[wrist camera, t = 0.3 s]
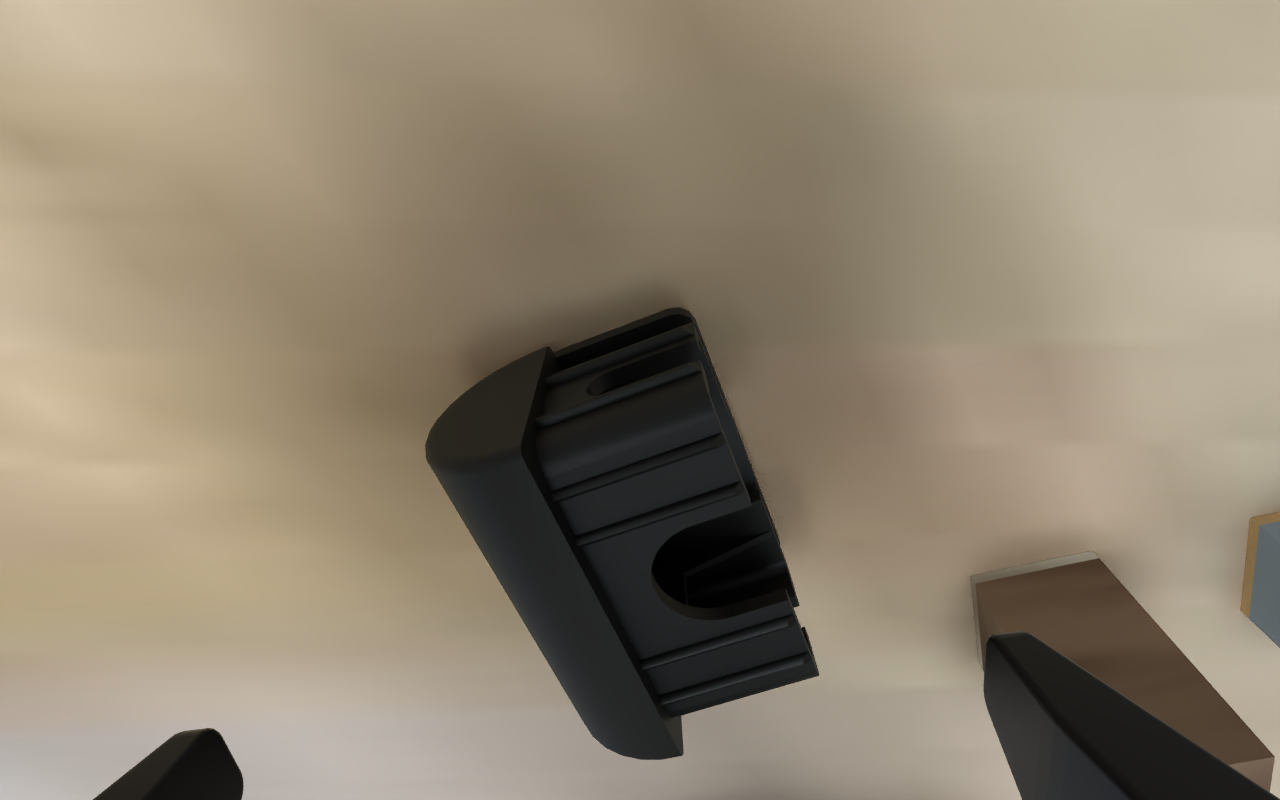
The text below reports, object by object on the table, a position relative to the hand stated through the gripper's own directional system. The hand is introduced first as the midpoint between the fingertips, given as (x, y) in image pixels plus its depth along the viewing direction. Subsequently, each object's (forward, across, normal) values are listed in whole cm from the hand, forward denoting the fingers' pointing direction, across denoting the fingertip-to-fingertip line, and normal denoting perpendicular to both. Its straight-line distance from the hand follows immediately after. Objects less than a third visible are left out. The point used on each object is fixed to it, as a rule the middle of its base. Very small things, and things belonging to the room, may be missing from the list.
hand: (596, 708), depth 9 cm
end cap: (+14, 0, +5) cm, 15 cm away
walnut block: (+14, -12, +13) cm, 23 cm away
